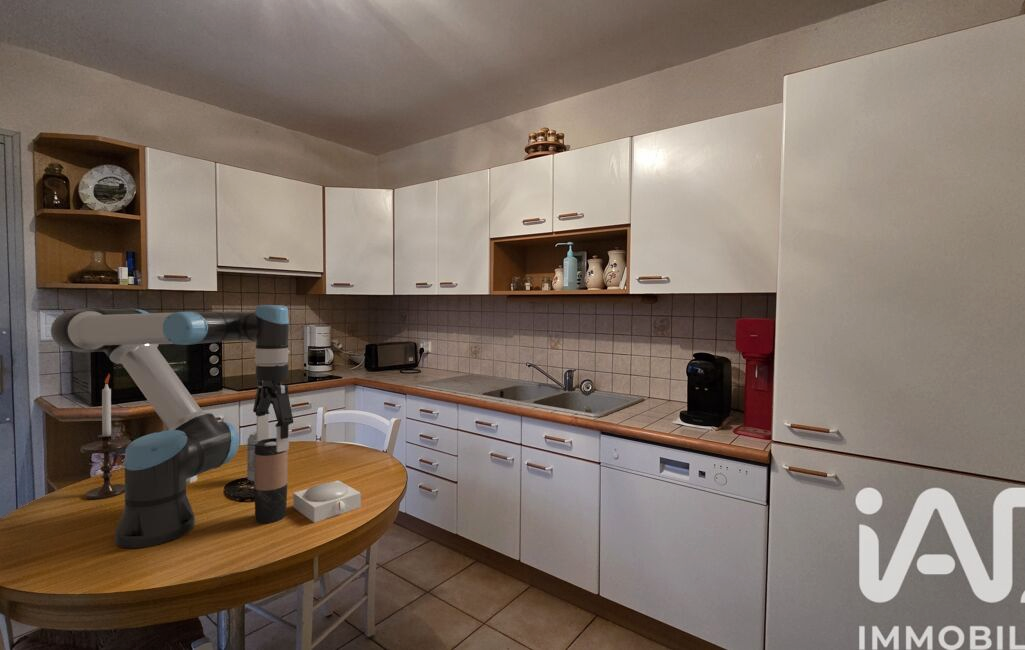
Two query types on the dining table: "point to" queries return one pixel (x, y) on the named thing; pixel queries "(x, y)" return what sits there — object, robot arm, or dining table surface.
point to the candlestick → (106, 451)
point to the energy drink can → (251, 455)
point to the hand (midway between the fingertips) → (272, 445)
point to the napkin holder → (191, 479)
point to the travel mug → (270, 482)
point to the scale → (326, 500)
